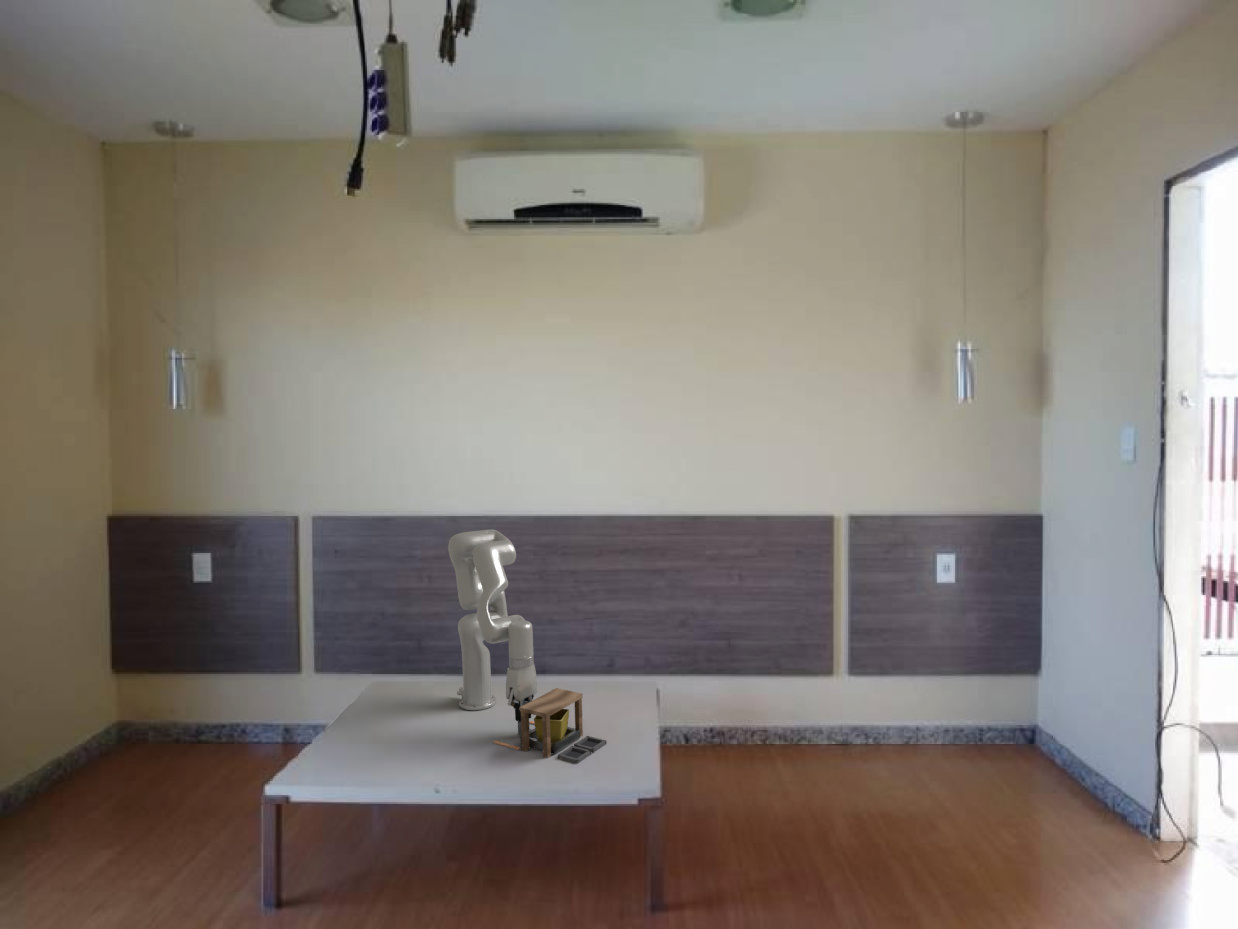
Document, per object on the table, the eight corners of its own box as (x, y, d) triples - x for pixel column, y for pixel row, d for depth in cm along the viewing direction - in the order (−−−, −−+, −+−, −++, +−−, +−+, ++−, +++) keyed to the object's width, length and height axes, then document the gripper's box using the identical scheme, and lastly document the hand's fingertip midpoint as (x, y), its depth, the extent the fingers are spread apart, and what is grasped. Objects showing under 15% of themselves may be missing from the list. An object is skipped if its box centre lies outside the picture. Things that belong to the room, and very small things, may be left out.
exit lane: (493, 742, 230) (493, 742, 230) (531, 721, 246) (531, 720, 246) (518, 750, 225) (518, 749, 225) (555, 728, 240) (555, 727, 240)
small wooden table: (521, 750, 225) (519, 707, 224) (557, 728, 240) (556, 688, 239) (547, 758, 219) (546, 713, 218) (583, 735, 234) (582, 693, 233)
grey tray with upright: (507, 741, 231) (505, 708, 230) (533, 725, 242) (532, 694, 241) (554, 754, 221) (553, 720, 220) (580, 737, 232) (579, 705, 231)
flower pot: (562, 750, 224) (561, 720, 224) (534, 748, 226) (533, 718, 226) (570, 737, 233) (569, 709, 232) (543, 735, 235) (542, 707, 234)
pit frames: (557, 758, 219) (557, 754, 219) (587, 738, 232) (587, 735, 232) (577, 763, 215) (577, 760, 215) (606, 743, 228) (606, 740, 228)
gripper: (528, 652, 243) (530, 708, 244) (494, 667, 229) (496, 726, 231) (547, 655, 239) (548, 712, 240) (513, 671, 225) (515, 731, 226)
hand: (523, 718), depth 235 cm, fingers closed on grey tray with upright, 2 cm apart
